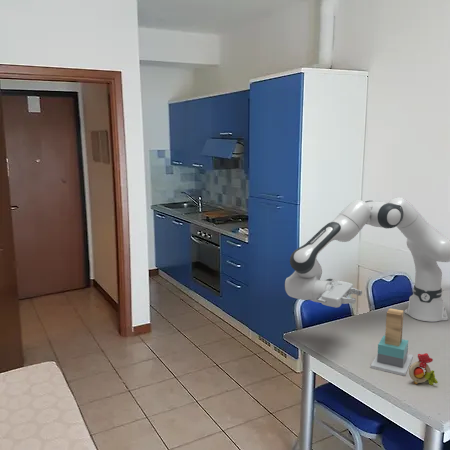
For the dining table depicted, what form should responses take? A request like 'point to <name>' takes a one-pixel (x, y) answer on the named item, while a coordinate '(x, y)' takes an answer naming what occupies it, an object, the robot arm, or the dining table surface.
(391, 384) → the dining table surface
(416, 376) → the bird rattle
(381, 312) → the dining table surface
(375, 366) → the brick tower
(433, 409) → the dining table surface
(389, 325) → the oak brick
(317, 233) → the robot arm
